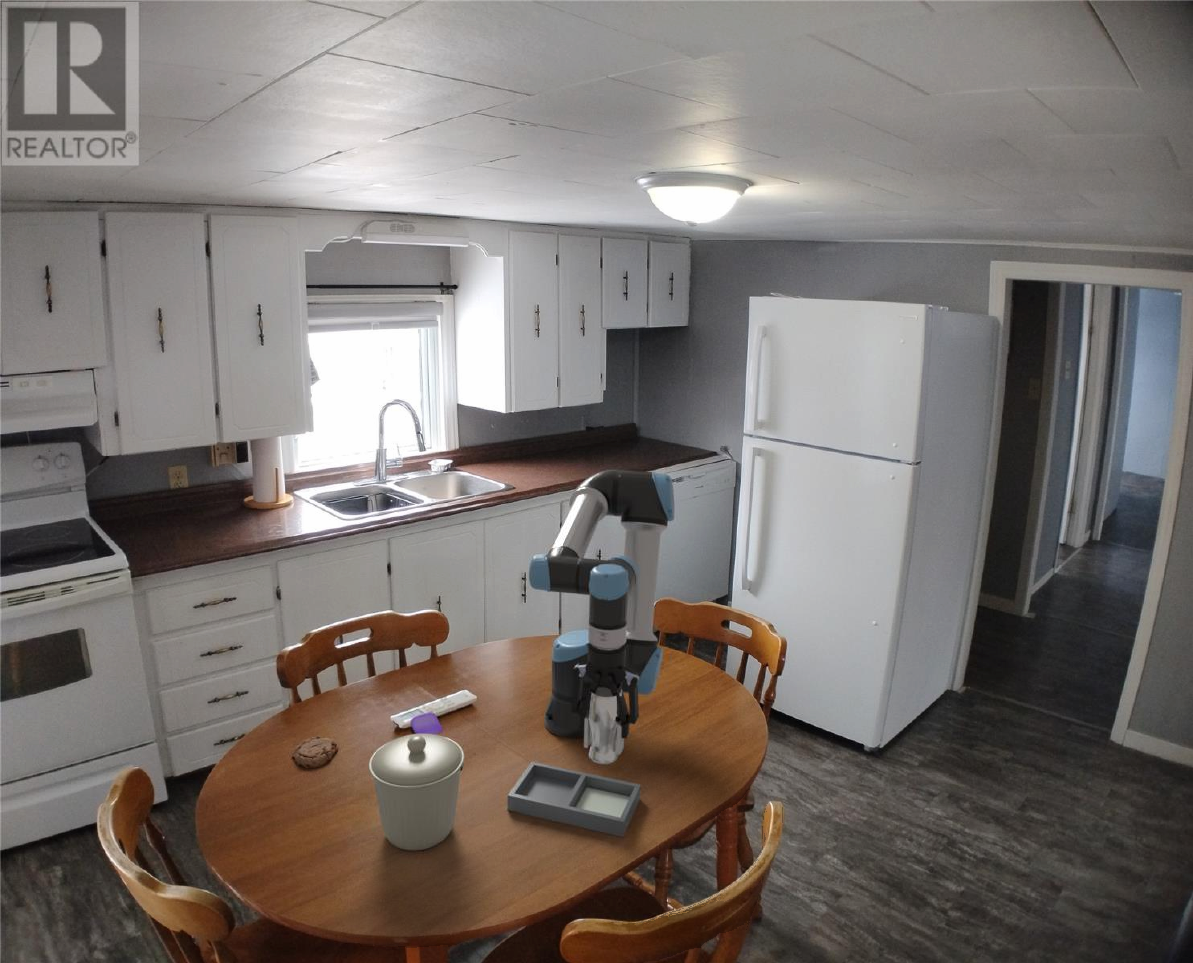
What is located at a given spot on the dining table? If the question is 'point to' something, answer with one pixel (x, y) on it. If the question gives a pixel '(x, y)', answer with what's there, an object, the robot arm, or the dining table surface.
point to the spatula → (426, 724)
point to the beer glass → (603, 725)
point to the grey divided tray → (575, 798)
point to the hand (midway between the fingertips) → (603, 747)
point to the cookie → (314, 751)
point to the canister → (417, 788)
